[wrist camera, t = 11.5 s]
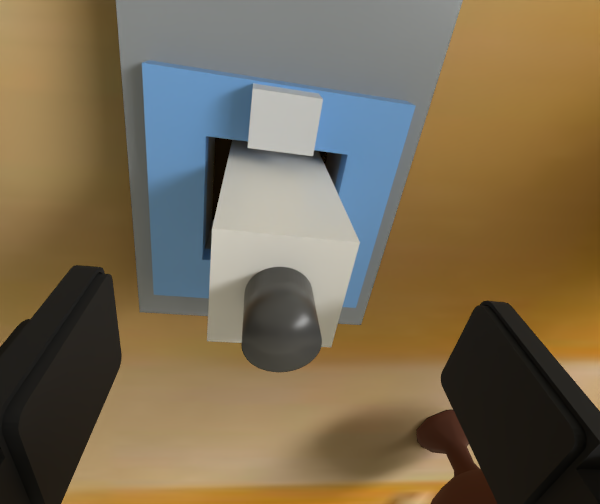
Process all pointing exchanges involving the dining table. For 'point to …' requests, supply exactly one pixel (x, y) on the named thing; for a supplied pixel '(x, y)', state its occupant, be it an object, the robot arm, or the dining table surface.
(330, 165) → the board
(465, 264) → the dining table surface
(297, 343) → the cord plug
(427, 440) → the ice cream bowl
